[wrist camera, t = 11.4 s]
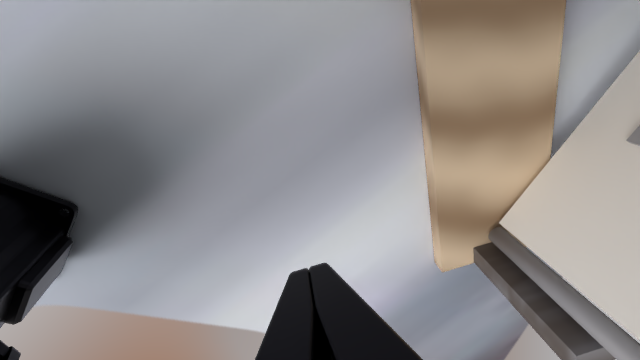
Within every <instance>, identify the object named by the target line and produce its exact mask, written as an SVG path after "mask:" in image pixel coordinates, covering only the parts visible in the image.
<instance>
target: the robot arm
mask: <svg viewBox="0 0 640 360" xmlns="http://www.w3.org/2000/svg"><path fill="white" fill-rule="evenodd" d="M63 209H67V210H68V211H69V212H70V213H67V212H65V211H64V210H63ZM77 213H78V208H77V206H76V205H75V204H73V203H71V202H69V201H66V200H63V199H60V198H57V197H54V196H52V195H49V194H46V193H43V192H40V191H37V190H35V189H32V188H29V187H26V186H23V185H20V184H18V183H15V182H12V181H9V180H6V179H3V178H1V177H0V328H1V327H2V325H3V324H4V323H9V324H16V323H18V322H21V321H22V320H23V318H24V317H25V316H26V315H27V313H28V312H29V311H30V309H31V308H32V307H33V306H34V305H35V304H36V302H37V301H38V300H39V299H40V297H41V296H42V295H43V294H44V292H45V291H46V290H47V289H48V287H49V286H50V285H51V284H52V282H53V281H54V280H55V279H56V277H57V276H58V275H59V274H60V272H61V271H62V269H63V266H64V264H65V261H66V259H67V256H68V254H69V251H70V249H71V246H72V244H73V241H72V238H71V237H68V236H69V233H70V231H71V228H72V226H73V223H74V221H75V218H76V216H77ZM20 355H21V354H20V353H19V352H18V351H17V350H16V349H15V348H14V347H12V346H11V347H8V346H7V345H5V344H4V343H3V342H2V341H1V340H0V360H19V357H20ZM255 360H423V359H422V358H421V357H420V356H419V355H418V354H417V353H416V352H415V351H414V350H413V349H412V348H411V347H410V346H409V345H408V344H407V343H406V342H405V341H404V340H403V339H402V338H401V337H400V336H399V335H398V334H397V333H396V332H395V331H394V330H393V329H392V328H391V327H390V326H389V325H388V324H387V323H386V322H385V321H384V320H383V319H382V318H381V317H380V316H379V315H378V314H377V313H376V312H375V311H374V310H373V309H372V308H371V307H370V306H369V305H368V304H367V303H366V302H365V301H364V300H363V299H362V298H361V297H360V296H359V295H358V294H357V293H356V292H355V291H354V290H353V289H352V288H351V287H350V286H349V285H348V284H347V283H346V282H345V281H344V280H343V279H342V278H341V277H340V276H339V275H338V274H337V273H336V272H335V271H334V270H333V269H332V268H331V267H330V266H329V265H328V264H327V263H321V264H318V265H315V266H311V267H310V268H309V270H308V269H307V268H305V269H301V270H298V271H294V272H292V273H291V274H290V275H289V277H288V280H287V282H286V285H285V287H284V290H283V292H282V294H281V297H280V299H279V302H278V304H277V307H276V309H275V312H274V314H273V317H272V319H271V322H270V324H269V326H268V329H267V331H266V334H265V336H264V339H263V341H262V344H261V346H260V349H259V351H258V354H257V356H256V358H255Z"/></svg>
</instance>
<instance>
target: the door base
mask: <svg viewBox="0 0 640 360" xmlns="http://www.w3.org/2000/svg"><path fill="white" fill-rule="evenodd" d="M565 8H566V0H411V10H412V21H413V31H414V42H415V53H416V64H417V75H418V86H419V97H420V107H421V118H422V129H423V140H424V151H425V162H426V172H427V183H428V194H429V205H430V216H431V227H432V238H433V248H434V259H435V263H436V264H437V266H438V267H439V269H440V270H441V271H442V272H445V271H449V270H452V269H455V268H459V267H462V266H465V265H468V264H472V263H475V264H476V265H477V266H478V267H479V268H480V269H481V271H482V272H483V273H484V274H485V275H486V276H487V277H488V278H489V280H490V281H491V282H492V283H493V284H494V285H495V286H496V287H497V288H498V290H499V291H500V292H501V293H502V294H503V295H504V296H505V297H506V299H507V300H508V301H509V302H510V303H511V304H512V305H513V306H514V307H515V309H516V310H517V311H518V312H519V313H520V314H521V315H522V316H523V318H524V319H525V320H526V321H527V322H528V323H529V324H530V325H531V326H532V328H533V329H534V330H535V331H536V332H537V333H538V334H539V335H540V337H541V338H542V339H543V340H544V341H545V342H546V343H547V344H548V345H549V347H550V348H551V349H552V350H553V351H554V352H555V353H556V354H557V355H558V357H559V358H560V359H561V360H615V359H616V358H614V357H613V356H612V355H611V354H610V353H609V352H608V351H607V350H606V349H605V348H604V347H603V346H602V345H601V344H600V343H599V342H598V341H596V340H595V339H594V338H593V337H592V336H591V335H590V334H589V333H588V332H587V331H586V330H585V329H584V328H583V327H582V326H581V325H580V324H578V323H577V322H576V321H575V320H574V319H573V318H572V317H571V316H570V315H569V314H568V313H567V312H566V311H565V310H564V309H563V308H561V307H560V306H559V305H558V304H557V303H556V302H555V301H554V300H553V299H552V298H551V297H550V296H549V295H548V294H547V293H546V292H545V291H543V290H542V289H541V288H540V287H539V286H538V285H537V284H536V283H535V282H534V281H533V280H532V279H531V278H530V277H529V276H528V275H526V274H525V273H524V272H523V271H522V270H521V269H520V268H519V267H518V266H517V265H516V264H515V263H514V262H513V261H512V260H511V259H510V258H508V257H507V256H506V255H505V254H504V253H503V252H502V251H501V250H500V249H499V248H498V247H497V246H496V245H495V244H494V243H493V242H492V241H490V240H489V238H488V235H489V233H490V231H491V230H492V229H494V228H496V227H502V228H503V229H504V230H506V231H507V232H508V233H509V234H510V235H511V236H513V237H514V238H515V239H516V240H517V241H519V242H520V243H521V244H522V245H523V246H524V247H527V246H526V245H524V244H523V243H522V242H521V241H520V240H518V239H517V238H516V237H515V236H514V235H513V234H511V233H510V232H509V231H508V230H507V229H505V228H504V227H503V226H502V225H501V224H499V222H500V221H501V220H502V218H503V217H504V216H505V215H506V213H507V212H508V211H509V210H510V209H511V207H512V206H513V205H514V204H515V202H516V201H517V200H518V199H519V198H520V196H521V195H522V194H523V193H524V191H525V190H526V189H527V188H528V187H529V185H530V184H531V183H532V182H533V180H534V179H535V178H536V177H537V175H538V174H539V173H540V172H541V171H542V169H543V168H544V167H545V166H546V164H547V163H548V162H549V161H550V156H551V146H552V136H553V126H554V116H555V107H556V97H557V87H558V77H559V67H560V57H561V47H562V38H563V28H564V18H565Z"/></svg>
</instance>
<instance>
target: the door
mask: <svg viewBox="0 0 640 360" xmlns="http://www.w3.org/2000/svg"><path fill="white" fill-rule="evenodd" d="M499 224H501V225H502V226H503V227H504V228H505V229H507V230H508V231H509V232H510V233H511V234H513V235H514V236H515V237H516V238H517V239H518V240H520V241H521V242H522V243H523V244H524V245H526V246H527V247H528V248H529V249H530V250H532V251H533V252H534V253H535V254H536V255H538V256H539V257H540V258H541V259H542V260H544V261H545V262H546V263H547V264H548V265H550V266H551V267H552V268H553V269H554V270H556V271H557V272H558V273H559V274H560V275H562V276H563V277H564V278H565V279H566V280H568V281H569V282H570V283H571V284H572V285H573V286H575V287H576V288H577V289H578V290H580V291H581V292H582V293H583V294H584V295H585V296H587V297H588V298H589V299H590V300H591V301H593V302H594V303H595V304H596V305H597V306H599V307H600V308H601V309H602V310H603V311H605V312H606V313H607V314H608V315H609V316H611V317H612V318H613V319H614V320H615V321H617V322H618V323H619V324H620V325H621V326H623V327H624V328H625V329H626V330H627V331H629V332H630V333H631V334H632V335H633V336H634V337H636V338H637V339H638V340H639V341H640V51H639V52H638V53H637V54H636V55H635V57H634V58H633V59H632V60H631V62H630V63H629V64H628V65H627V66H626V68H625V69H624V70H623V71H622V73H621V74H620V75H619V76H618V78H617V79H616V80H615V81H614V82H613V84H612V85H611V86H610V87H609V89H608V90H607V91H606V92H605V93H604V95H603V96H602V97H601V98H600V100H599V101H598V102H597V103H596V104H595V106H594V107H593V108H592V109H591V111H590V112H589V113H588V114H587V115H586V117H585V118H584V119H583V120H582V122H581V123H580V124H579V125H578V126H577V128H576V129H575V130H574V131H573V133H572V134H571V135H570V136H569V138H568V139H567V140H566V141H565V142H564V144H563V145H562V146H561V147H560V149H559V150H558V151H557V152H556V153H555V155H554V156H553V157H552V158H551V160H550V161H549V162H548V163H547V164H546V166H545V167H544V168H543V169H542V171H541V172H540V173H539V174H538V175H537V177H536V178H535V179H534V180H533V182H532V183H531V184H530V185H529V187H528V188H527V189H526V190H525V191H524V193H523V194H522V195H521V196H520V198H519V199H518V200H517V201H516V202H515V204H514V205H513V206H512V207H511V209H510V210H509V211H508V212H507V213H506V215H505V216H504V217H503V218H502V220H501V221H500V222H499ZM488 238H489V240H490V241H492V242H493V243H494V244H495V245H496V246H497V247H498V248H499V249H500V250H501V251H502V252H503V253H504V254H505V255H506V256H507V257H508V258H510V259H511V260H512V261H513V262H514V263H515V264H516V265H517V266H518V267H519V268H520V269H521V270H522V271H523V272H524V273H525V274H526V275H528V276H529V277H530V278H531V279H532V280H533V281H534V282H535V283H536V284H537V285H538V286H539V287H540V288H541V289H542V290H543V291H545V292H546V293H547V294H548V295H549V296H550V297H551V298H552V299H553V300H554V301H555V302H556V303H557V304H558V305H559V306H560V307H561V308H563V309H564V310H565V311H566V312H567V313H568V314H569V315H570V316H571V317H572V318H573V319H574V320H575V321H576V322H577V323H578V324H580V325H581V326H582V327H583V328H584V329H585V330H586V331H587V332H588V333H589V334H590V335H591V336H592V337H593V338H594V339H595V340H596V341H598V342H599V343H600V344H601V345H602V346H603V347H604V348H605V349H606V350H607V351H608V352H609V353H610V354H611V355H612V356H613V357H614V358H616V359H617V360H640V344H639V343H638V342H637V341H636V340H635V339H633V338H632V337H631V336H630V335H629V334H627V333H626V332H625V331H624V330H623V329H621V328H620V327H619V326H618V325H617V324H615V323H614V322H613V321H612V320H611V319H610V318H609V317H607V316H606V315H605V314H604V313H603V312H601V311H600V310H599V309H598V308H597V307H595V306H594V305H593V304H592V303H591V302H590V301H588V300H587V299H586V298H585V297H584V296H582V295H581V294H580V293H579V292H578V291H576V290H575V289H574V288H573V287H572V286H571V285H569V284H568V283H567V282H566V281H565V280H563V279H562V278H561V277H560V276H559V275H558V274H556V273H555V272H554V271H553V270H552V269H551V268H549V267H548V266H547V265H546V264H545V263H543V262H542V261H541V260H540V259H539V258H537V257H536V256H535V255H534V254H533V253H532V252H530V251H529V250H528V249H527V248H526V247H524V246H523V245H522V244H521V243H520V242H519V241H517V240H516V239H515V238H514V237H513V236H511V235H510V234H509V233H508V232H507V231H506V230H504V229H503V228H502V227H496V228H494V229H492V230H491V231H490V233H489V235H488Z"/></svg>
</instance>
